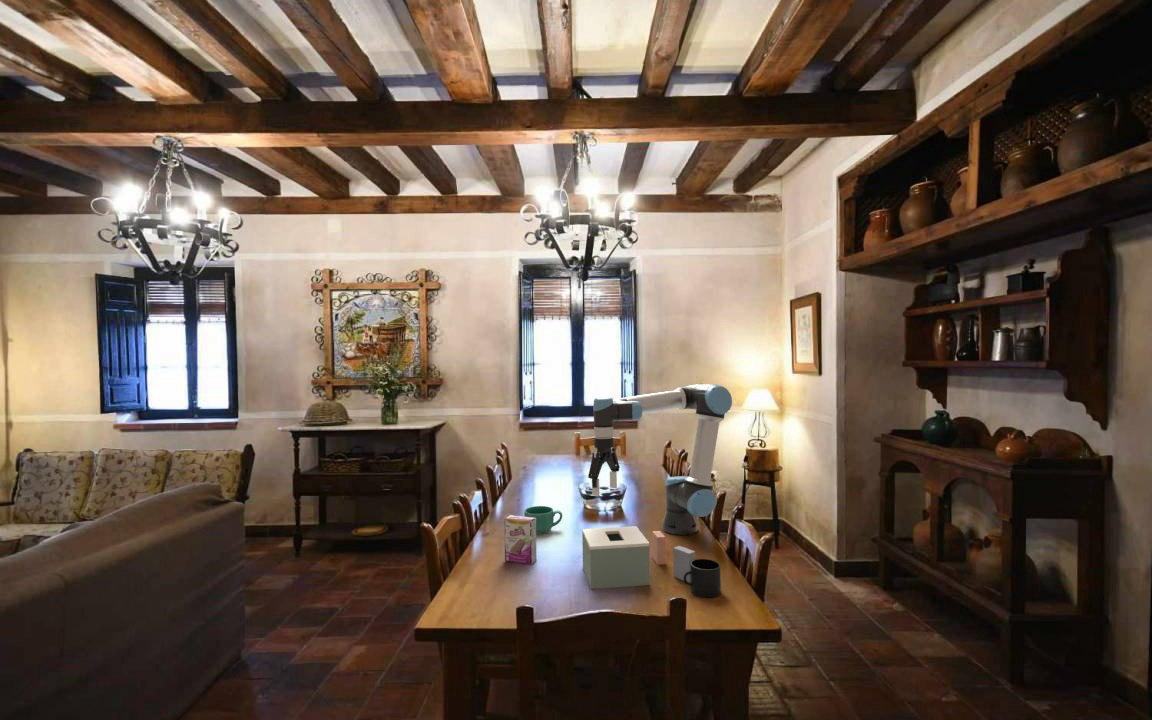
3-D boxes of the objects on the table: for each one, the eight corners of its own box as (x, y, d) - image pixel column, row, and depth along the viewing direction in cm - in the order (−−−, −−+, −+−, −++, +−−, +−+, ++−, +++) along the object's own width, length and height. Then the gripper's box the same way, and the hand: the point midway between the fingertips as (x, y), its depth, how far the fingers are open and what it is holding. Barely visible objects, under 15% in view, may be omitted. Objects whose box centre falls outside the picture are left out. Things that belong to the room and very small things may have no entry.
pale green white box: (636, 564, 199) (636, 526, 199) (649, 584, 181) (649, 543, 181) (582, 567, 196) (582, 529, 196) (590, 589, 179) (590, 546, 178)
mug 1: (523, 536, 231) (522, 514, 231) (526, 526, 244) (526, 505, 244) (561, 536, 231) (561, 513, 231) (563, 526, 244) (562, 505, 244)
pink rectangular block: (660, 557, 206) (659, 530, 206) (665, 564, 199) (665, 536, 199) (652, 557, 206) (652, 531, 205) (657, 564, 199) (657, 537, 198)
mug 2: (679, 587, 179) (678, 559, 179) (714, 584, 181) (714, 557, 181) (688, 599, 170) (688, 571, 170) (725, 597, 171) (724, 568, 171)
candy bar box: (504, 562, 203) (503, 518, 203) (510, 557, 208) (509, 514, 207) (531, 565, 199) (531, 521, 199) (537, 560, 204) (536, 517, 204)
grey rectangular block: (679, 574, 190) (679, 545, 190) (695, 580, 184) (695, 551, 184) (673, 576, 188) (673, 547, 188) (689, 583, 182) (689, 553, 182)
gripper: (611, 432, 224) (612, 483, 224) (578, 441, 203) (579, 498, 203) (627, 433, 220) (628, 485, 220) (595, 442, 199) (596, 500, 199)
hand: (604, 491), depth 211 cm, fingers open, 13 cm apart
